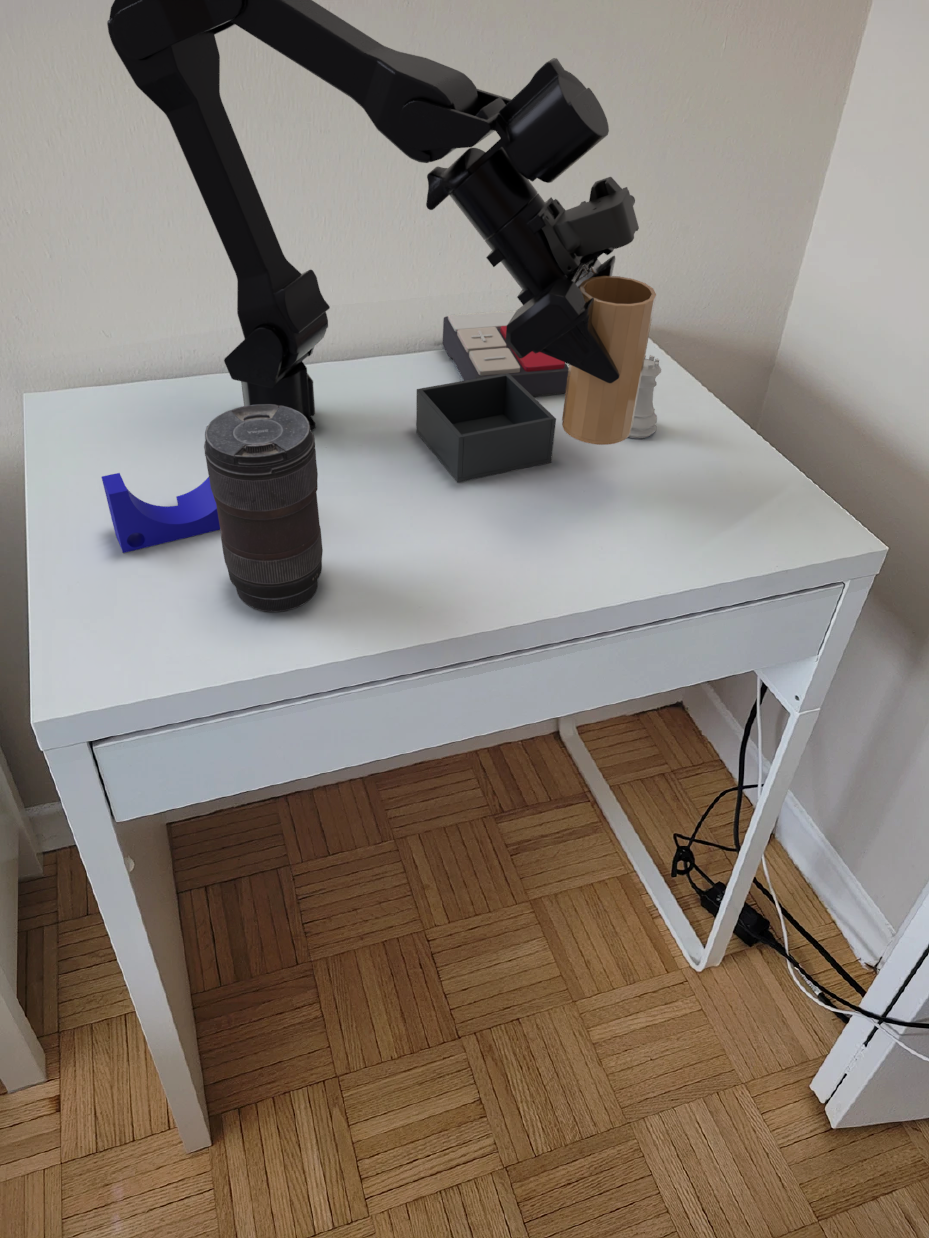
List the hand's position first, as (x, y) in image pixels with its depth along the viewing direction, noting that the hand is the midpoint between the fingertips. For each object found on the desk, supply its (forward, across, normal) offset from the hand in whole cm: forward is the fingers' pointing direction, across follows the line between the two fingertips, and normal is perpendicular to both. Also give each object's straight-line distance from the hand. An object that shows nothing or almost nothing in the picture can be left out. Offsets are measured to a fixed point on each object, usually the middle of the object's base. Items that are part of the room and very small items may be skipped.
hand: (621, 364), depth 84 cm
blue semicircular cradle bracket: (-15, -18, +34) cm, 42 cm away
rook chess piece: (+10, +13, +9) cm, 19 cm away
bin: (0, +4, +19) cm, 19 cm away
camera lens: (-7, -24, +26) cm, 36 cm away
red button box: (-2, +22, +21) cm, 31 cm away
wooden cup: (+4, 0, +6) cm, 7 cm away
